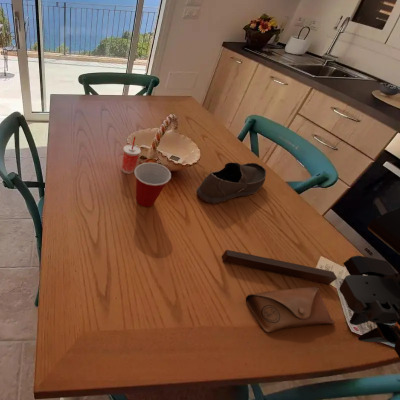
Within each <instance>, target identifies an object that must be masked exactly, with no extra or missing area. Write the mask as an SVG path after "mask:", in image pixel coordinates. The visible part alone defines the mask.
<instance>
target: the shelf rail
mask: <svg viewBox="0 0 400 400" xmlns="http://www.w3.org/2000/svg"><path fill="white" fill-rule="evenodd" d="M221 259H222V263H225V264H231V265H235V266H240V267H244V268H249V269H254V270H259V271H264V272H268V273H272V274H277V275H283V276H286V277H291V278H297V279H299V280H306V281H310V282H315V283H319V284H322V285H323V284H325V285H331V284H332V283H333V282H335V281H336V280H337V279H338V277H337V275H336V274H335V272H334V271H333V270H332V271H331V270H327V269H322V268H318V267H312V266H308V265H303V264H298V263H293V262H289V261H283V260H280V259H274V258H269V257H264V256H260V255H255V254H250V253H245V252H241V251H236V250H231V249H226V250H225V251H224V252H223V253H222V255H221Z"/></svg>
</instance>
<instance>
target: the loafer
mask: <svg viewBox="0 0 400 400" xmlns="http://www.w3.org/2000/svg"><path fill="white" fill-rule="evenodd" d="M266 176H267V170H266V168H265V167H264V166H263V165H261V164H259V163H257V162H247V163H244V164H241V163H239V162H232V161H229V162H226V163H225V164H224V167H223V168H222V169H220V170H215V171H210V172H209V174H208V175H206V176H205V178H204V179H203V181H202V182H201V183H200V186H198V188H196V191H195V192H196V195H197V196H198V197H199V198H200V199H201V200H203V201H204V202H206V203H209V204H219V203H223V202H225V201H226V202H227V201H229V200H231V199H234V198H237V197H245V196H251V195H254V194H256V193H257V192H258V191H260V190H261V188H262V187H263V185H264V183H265V181H266Z"/></svg>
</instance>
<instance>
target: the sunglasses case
mask: <svg viewBox="0 0 400 400" xmlns="http://www.w3.org/2000/svg"><path fill="white" fill-rule="evenodd" d="M245 303H246V305H247V307H248V309H249V310H250V312H251V314H252V315H253V317H254V318H255V320H256V321H257V322H258V324H259V325H260V327H261V329H263V331H265V332H266V333H268V334H270V333H273V332H276V331H281V330H283V329H284V330H285V329H289V328H290V329H291V328H297V327H304V326H312V325H313V326H314V325H334V324H336V323H335V321H334V320H333V318H332V317H331V315H330V313H329V310H328V308H327V306H326V303H325V302H324V299H323V297H322V295H321V292H320V287H318V286H311V287H310V286H309V287H297V288H288V289H287V288H286V289H278V290H270V291H263V292H257V293H252V294H250V293H249V294H248V295H247V296H246V297H245Z"/></svg>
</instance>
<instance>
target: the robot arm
mask: <svg viewBox="0 0 400 400" xmlns="http://www.w3.org/2000/svg"><path fill="white" fill-rule="evenodd" d="M367 229H368V231H370V232H371V233H372V234H374V236H376V237H377V238H378V239H380V240H381V241H382V242H383V243H384V244H386V246H388V247H389V248H391V250H393V251H394V252H395V253H396V254H398V255H399V256H400V207H397V208H394V209H391V210H389V211H387V212H384V213H383V214H381V215H379V216H376V217H374V218H373V219H372V220H371V221H370V222H369V224H367ZM343 266H344V267H345V269H346V270H347V272H348V275H346V276H345V277H344V279H343V280H342V283H341V285H340V286H339V288H338V289H339V290H338V291H339V292H340V293H341V294H342V297H343V298H344V300H345V302H346V305H347V307H348V309H349V310H350V311H351V312H353V313H352V315H351V318H350V319H349V324H350V325H353V326H358V325H362V324H363V325H364V324H365V323H369V322H370V323H373V324H375V325H376V327H375V328H373V329H371V330H369V331H367V332H365V333H362V334H361V335H359V337H357V339H358V341H359V342H364V343H389V344H392V345H394V351H395V353H396V355H397V356H398V358H399V359H400V271H399V272H396V271H395V269H394V268H393V266H392V265H391V264H390V262H389V261H388V260H383V259H379V258H378V259H377V258H373V257H369V256H363V255H359V254H357V255H352V256H350V258H348V259H347V260H346V261H344V262H343Z"/></svg>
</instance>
